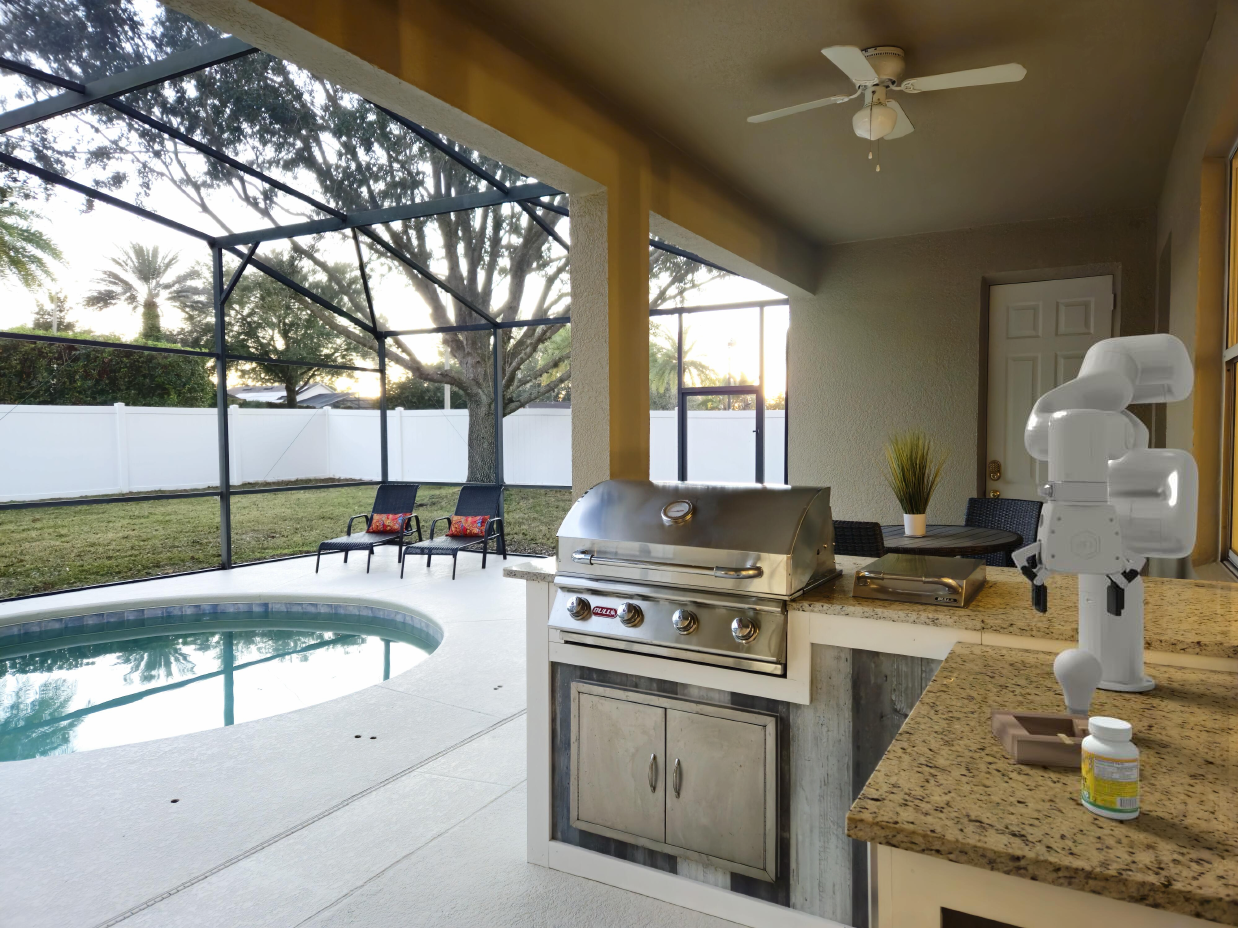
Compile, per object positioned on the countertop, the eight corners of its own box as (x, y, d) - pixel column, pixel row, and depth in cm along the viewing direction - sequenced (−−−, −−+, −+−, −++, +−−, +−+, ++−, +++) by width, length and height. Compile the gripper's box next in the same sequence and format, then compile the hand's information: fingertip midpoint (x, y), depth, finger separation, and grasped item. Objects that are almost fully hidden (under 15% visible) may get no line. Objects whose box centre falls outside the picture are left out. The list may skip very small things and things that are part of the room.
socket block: (990, 730, 109) (990, 708, 109) (1087, 736, 107) (1087, 713, 107) (1018, 764, 97) (1018, 739, 97) (1128, 772, 94) (1128, 746, 94)
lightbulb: (1109, 733, 108) (1109, 655, 108) (1062, 730, 109) (1062, 653, 109) (1092, 719, 114) (1092, 645, 114) (1047, 716, 115) (1047, 643, 115)
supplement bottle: (1135, 825, 81) (1135, 734, 81) (1077, 810, 84) (1077, 723, 84) (1142, 807, 85) (1142, 721, 85) (1086, 794, 88) (1086, 710, 88)
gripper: (1021, 494, 109) (1020, 614, 109) (1157, 496, 106) (1156, 620, 106) (1005, 493, 117) (1004, 605, 116) (1132, 495, 113) (1131, 611, 113)
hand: (1077, 612), depth 111 cm, fingers open, 9 cm apart
